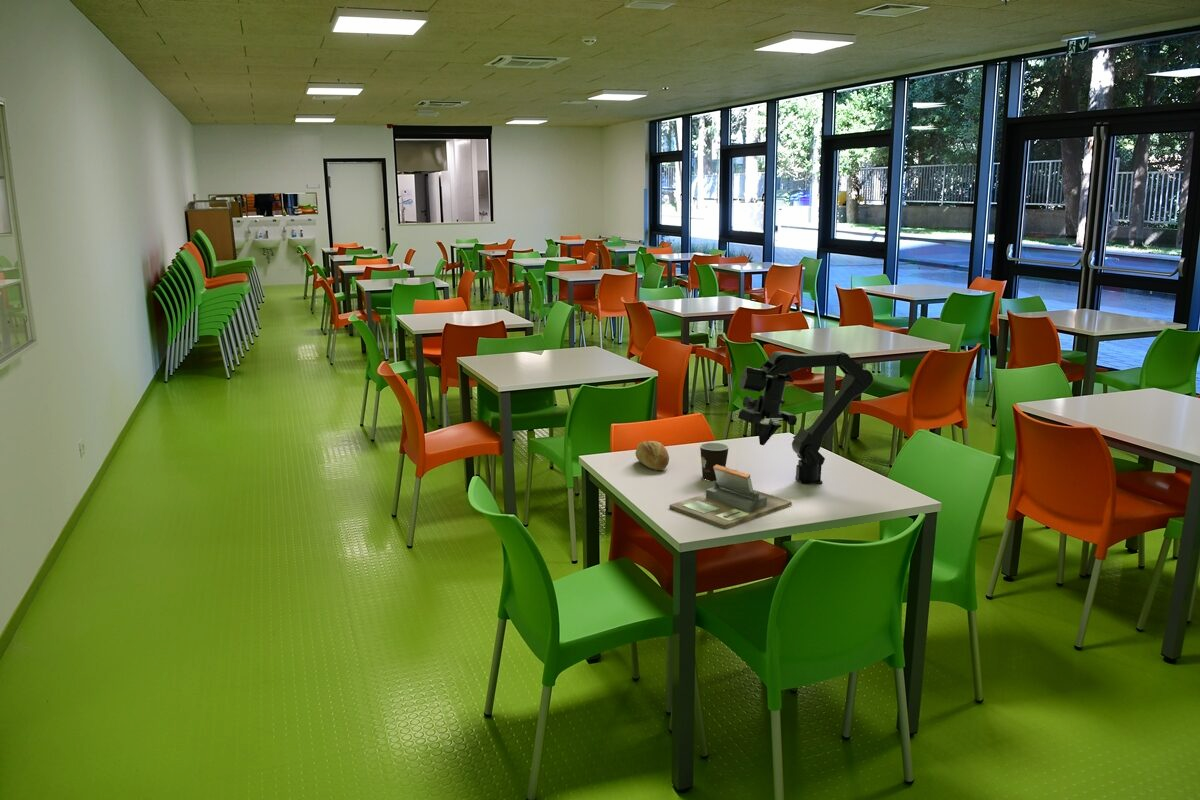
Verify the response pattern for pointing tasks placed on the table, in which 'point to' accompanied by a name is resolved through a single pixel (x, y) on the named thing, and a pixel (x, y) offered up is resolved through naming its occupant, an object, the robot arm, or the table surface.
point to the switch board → (729, 506)
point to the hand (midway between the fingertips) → (761, 444)
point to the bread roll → (652, 455)
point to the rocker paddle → (734, 480)
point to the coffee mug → (712, 458)
